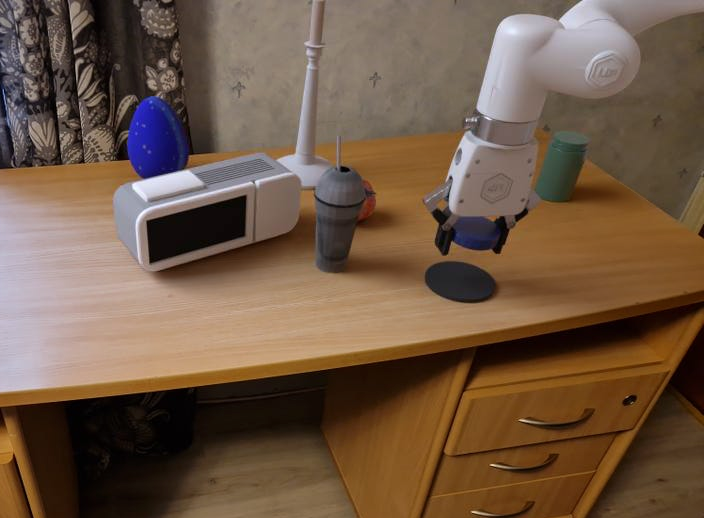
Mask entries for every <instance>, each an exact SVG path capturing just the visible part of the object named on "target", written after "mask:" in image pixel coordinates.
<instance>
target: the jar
mask: <svg viewBox="0 0 704 518" xmlns="http://www.w3.org/2000/svg"><path fill="white" fill-rule="evenodd" d="M590 140H591V139H590V138H589V136H587V135H585V134H584V133H580V132H577V131H571V130H560V131H556V132H555V133H554V134H553V136H552V138H551V139H550V140H549V142H548V144H547V148H546V151H545V154H544V156H543V160H542V162H541V166H540V169H539V171H538V175H537V178H536V181H535V183H534V186H533V188H532V189H533V190H534V191H535V192H536V194H537V195H538V196H539V197H540V198H541V200H544V201H547V202H553V203H554V202H555V203H564V202H567V201H570V200H571V198H572V196H573V193H574V191H575V188H576V186H577V182H578V180H579V177H580V174H581V171H582V170H583V167H584V164H585V161H586V160H587V156H588V154H589V150H590V147H589V145H590V143H591V142H590Z"/></svg>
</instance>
